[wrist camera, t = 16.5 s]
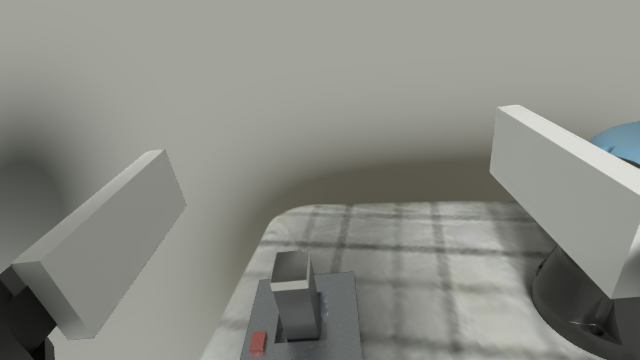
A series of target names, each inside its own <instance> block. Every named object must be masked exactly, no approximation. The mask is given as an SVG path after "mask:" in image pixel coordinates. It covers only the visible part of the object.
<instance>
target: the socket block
mask: <svg viewBox="0 0 640 360" xmlns="http://www.w3.org/2000/svg"><path fill="white" fill-rule="evenodd" d="M314 278H315V283H316V288H317V293H318V298H319V303H320V308H321V339H320V340H318V341H304V342H290V343H288V342H287V339H286V336H285V332H284V329H283V325H282V322H281V318H280V315H279V311H278V308H277V304H276V301H275V297H274V294H273V291H272V289H271V286H270V281H271V279H263V280H259V284H258V288H257V292H256V296H255V300H254V304H253V309H252V313H251V317H250V321H249V325H248V329H247V333H246V337H245V341H244V345H243V349H242V353H241V357H240V360H362V350H361V340H360V329H359V319H358V309H357V298H356V288H355V279H354V272H343V273H331V274H320V275H314Z"/></svg>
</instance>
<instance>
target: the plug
mask: <svg viewBox="0 0 640 360" xmlns="http://www.w3.org/2000/svg"><path fill="white" fill-rule="evenodd" d="M270 286H271V289H272V291H273V294H274V297H275V301H276V304H277V308H278V311H279V315H280V318H281V322H282V325H283V329H284V332H285V336H286V339H287V342H288V343H290V342H304V341H318V340H320V339H321V308H320V303H319V298H318V293H317V288H316V283H315V278H314V273H313V268H312V263H311V256H310V251H309V249H307V250H297V251H286V252H276V257H275V261H274V266H273V271H272V276H271V281H270Z"/></svg>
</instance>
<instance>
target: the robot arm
mask: <svg viewBox="0 0 640 360" xmlns="http://www.w3.org/2000/svg"><path fill="white" fill-rule="evenodd" d="M490 173H491V174H492V175H493V176H494V177H495V179H496V180H497V181H498V182H499V183H500V184H501V185H502V186H503V187H504V188H505V189H506V190H507V191H508V192H509V193H510V194H511V195H512V196H513V197H514V198H515V199H516V201H517V202H518V203H519V204H520V205H521V206H522V207H523V208H524V209H525V210H526V211H527V212H528V213H529V214H530V215H531V216H532V217H533V218H534V219H535V220H536V221H537V223H538V224H539V225H540V226H541V227H542V228H543V229H544V230H545V231H546V232H547V233H548V234H549V235H550V236H551V237H552V238H553V239H554V240H555V241H556V242H557V243H558V244H557V246H556V247H555V248H554V249H553V250H552V252H551V253H550V255H549V256H548V258H547V259H545V260H544V261H543V262H542V263H541V264H540V265H539V266H538V268H537V270H536V272H535V274H534V278H533V282H532V287H531V294H532V299H533V302H534V304H535V306H536V308H537V310H538V312H539V313H540V314H541V316H542V317H543V318H544V319H545V321H546V322H547V323H548V324H549V325H550V326H551V327H552V328H553V329H554V330H556V331H557V332H558V333H559V334H560V335H562V336H563V337H565V338H566V339H567V340H569V341H570V342H572V343H573V344H575V345H577V346H578V347H580V348H582V349H584V350H586V351H588V352H590V353H592V354H594V355H597V356H599V357H601V358H604V359H607V360H640V121H638V122H632V123H628V124H623V125H619V126H615V127H612V128H609V129H607V130H604V131H603V132H600V133H599V134H597V135H596V136H594V137H593V138H592V139H591V140H590V141H589V142H588V141H586V140H584V139H582V138H580V137H578V136H576V135H574V134H572V133H571V132H569V131H567V130H565V129H563V128H561V127H559V126H557V125H555V124H554V123H552V122H550V121H548V120H546V119H544V118H542V117H540V116H539V115H537V114H535V113H533V112H531V111H529V110H527V109H526V108H524V107H522V106H520V105H510V106H502V107H497V111H496V120H495V128H494V138H493V146H492V155H491V163H490ZM186 206H187V204H186V202H185V199H184V197H183V194H182V191H181V189H180V186H179V184H178V181H177V179H176V176H175V173H174V171H173V168H172V166H171V163H170V161H169V158H168V156H167V153H166V151H165V149H161V150H154V151H147V152H146V153H145V154H143V155H142V156H141V157H140V158H138V159H137V160H136V161H135V162H134V163H132V164H131V165H130V166H129V167H127V168H126V169H125V170H124V171H123V172H121V173H120V174H119V175H118V176H116V177H115V178H114V179H113V180H112V181H110V182H109V183H108V184H107V185H106V186H104V187H103V188H102V189H101V190H99V191H98V192H97V193H96V194H94V195H93V196H92V197H91V198H90V199H88V200H87V201H86V202H85V203H83V205H81V206H80V207H79V208H77V209H76V210H75V211H74V212H72V213H71V214H70V215H69V216H68V217H66V218H65V219H64V220H63V221H61V222H60V223H59V224H58V225H57V226H55V227H54V228H53V229H52V230H50V231H49V232H48V233H47V234H46V235H44V236H43V237H42V238H41V239H40V240H38V241H37V242H36V243H35V244H33V245H32V246H31V247H30V248H29V249H27V250H26V251H25V252H24V253H22V254H21V255H20V256H19V257H18V258H17V259H15V260H14V261H13V262H11V263H10V265H11V266H10V267H9V268H7V269H6V270H5V271H3V272H2V273H1V274H0V360H55V357H54V346H53V344H52V342H51V341H50V340H49V338H48V337H47V336H48V335H49V334H50V333H51V331H52V330H53V329H54V328H55V327H56V326H58V328H59V329H60V330H61V332H62V333H63V334H64V336H65V337H66V338H67V339H68V340H78V339H91V338H95V336H96V335H97V333H98V332H99V331H100V329H101V328H102V326H103V325H104V323H105V322H106V321H107V319H108V318H109V316H110V315H111V313H112V312H113V311H114V309H115V308H116V306H117V305H118V304H119V302H120V301H121V299H122V298H123V296H124V295H125V293H126V292H127V290H128V289H129V288H130V286H131V285H132V283H133V282H134V281H135V279H136V278H137V276H138V275H139V273H140V272H141V271H142V269H143V268H144V266H145V265H146V263H147V262H148V261H149V259H150V258H151V256H152V255H153V253H154V252H155V251H156V249H157V248H158V246H159V245H160V243H161V242H162V241H163V239H164V238H165V236H166V235H167V233H168V232H169V231H170V229H171V228H172V226H173V225H174V223H175V222H176V220H177V219H178V218H179V216H180V215H181V213H182V212H183V210H184V209H185V207H186Z"/></svg>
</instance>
